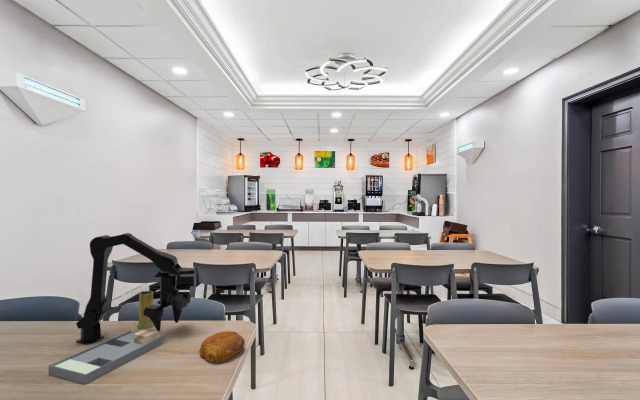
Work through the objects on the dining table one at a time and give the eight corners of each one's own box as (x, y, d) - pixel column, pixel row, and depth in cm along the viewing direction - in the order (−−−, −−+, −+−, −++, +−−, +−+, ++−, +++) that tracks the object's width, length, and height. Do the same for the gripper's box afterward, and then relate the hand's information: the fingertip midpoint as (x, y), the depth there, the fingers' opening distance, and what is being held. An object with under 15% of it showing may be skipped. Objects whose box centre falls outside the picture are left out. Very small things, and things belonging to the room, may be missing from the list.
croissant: (250, 354, 118) (253, 331, 119) (221, 368, 104) (224, 342, 105) (220, 345, 124) (222, 324, 125) (188, 357, 110) (191, 333, 111)
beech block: (133, 342, 118) (133, 334, 118) (146, 336, 123) (146, 328, 123) (145, 344, 116) (145, 336, 116) (157, 338, 121) (157, 330, 121)
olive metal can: (147, 329, 135) (147, 295, 135) (134, 328, 136) (134, 294, 136) (157, 323, 141) (157, 290, 141) (144, 322, 142) (145, 290, 142)
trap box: (48, 374, 100) (48, 365, 100) (130, 337, 127) (130, 330, 127) (85, 384, 95) (85, 375, 95) (162, 343, 121) (162, 336, 121)
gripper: (165, 296, 118) (165, 339, 118) (200, 283, 135) (200, 321, 135) (142, 293, 122) (142, 334, 121) (179, 281, 139) (178, 317, 139)
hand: (167, 326), depth 129 cm, fingers open, 9 cm apart
